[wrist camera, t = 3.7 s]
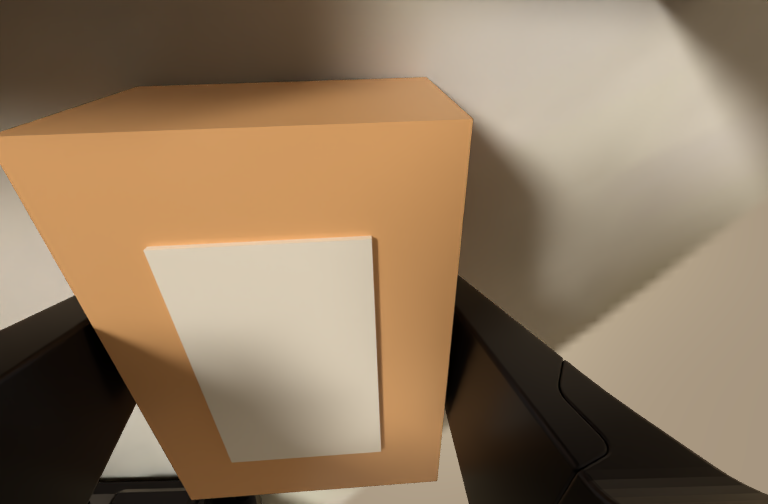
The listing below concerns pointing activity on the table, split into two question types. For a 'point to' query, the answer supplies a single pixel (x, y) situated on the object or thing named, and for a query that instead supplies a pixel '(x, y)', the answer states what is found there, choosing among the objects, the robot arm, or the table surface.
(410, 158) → the orange rectangular block
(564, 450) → the robot arm
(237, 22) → the table surface
